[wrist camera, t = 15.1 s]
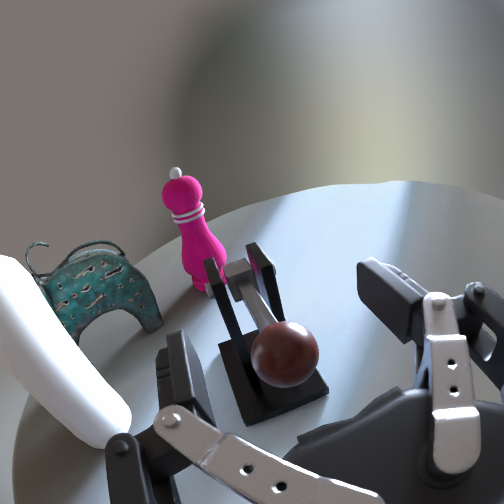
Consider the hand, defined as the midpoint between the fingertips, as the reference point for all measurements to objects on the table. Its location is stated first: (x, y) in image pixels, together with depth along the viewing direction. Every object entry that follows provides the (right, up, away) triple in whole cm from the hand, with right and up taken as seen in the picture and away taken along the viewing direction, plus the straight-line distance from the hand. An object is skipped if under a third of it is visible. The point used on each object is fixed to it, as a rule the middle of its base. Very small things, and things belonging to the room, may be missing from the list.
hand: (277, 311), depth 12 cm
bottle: (-19, -18, +16) cm, 30 cm away
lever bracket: (+1, -11, +19) cm, 22 cm away
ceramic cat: (-22, -12, +27) cm, 37 cm away
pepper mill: (-8, -2, +38) cm, 39 cm away
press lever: (0, -3, +8) cm, 9 cm away
